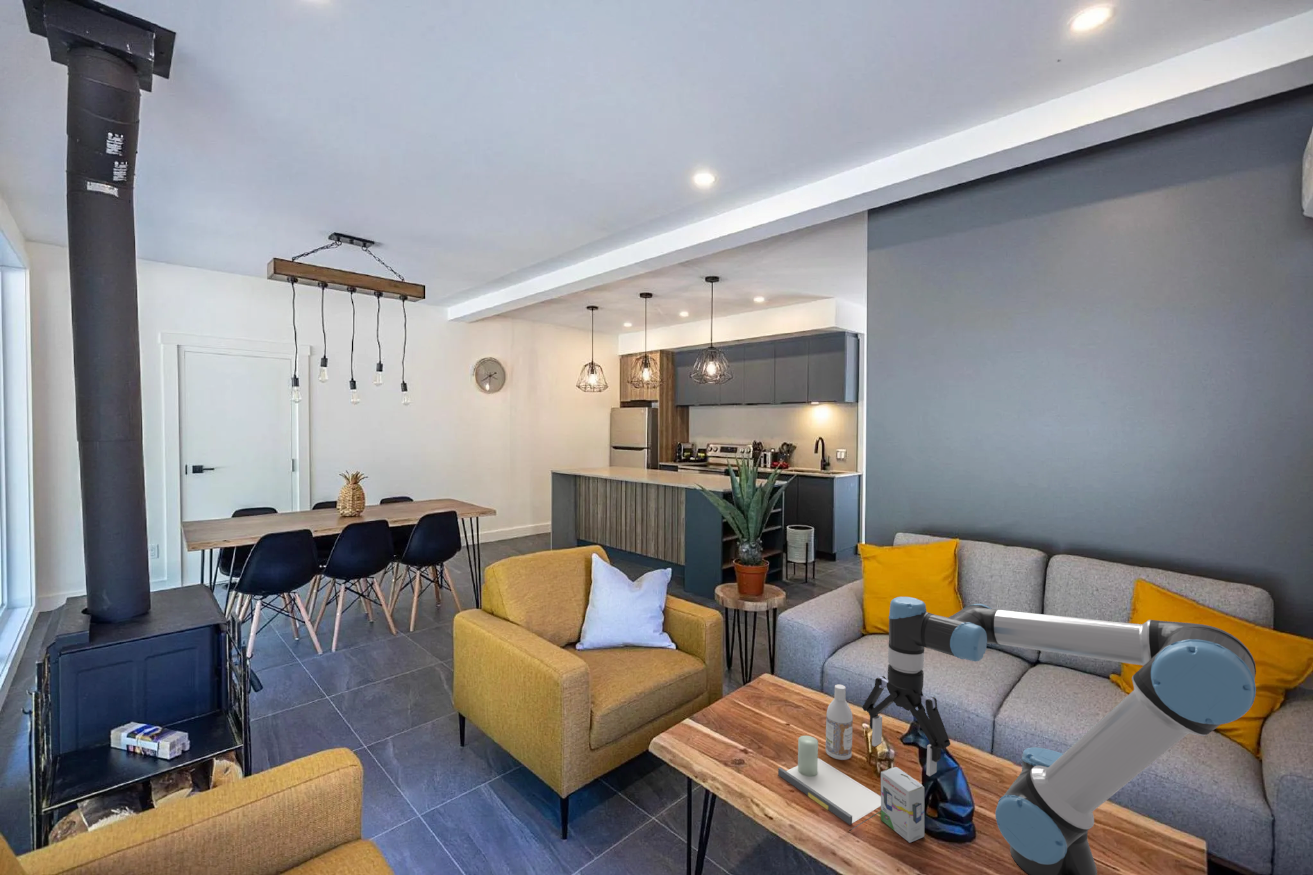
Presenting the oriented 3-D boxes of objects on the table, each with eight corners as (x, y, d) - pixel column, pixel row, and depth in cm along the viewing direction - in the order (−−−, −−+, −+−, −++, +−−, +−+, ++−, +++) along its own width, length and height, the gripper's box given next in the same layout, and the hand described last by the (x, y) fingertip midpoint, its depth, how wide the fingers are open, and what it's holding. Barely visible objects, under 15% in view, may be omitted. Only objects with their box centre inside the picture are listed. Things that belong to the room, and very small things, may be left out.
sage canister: (821, 772, 150) (822, 742, 149) (808, 778, 147) (809, 748, 147) (806, 762, 154) (807, 733, 154) (793, 768, 151) (794, 739, 151)
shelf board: (888, 807, 139) (888, 794, 139) (849, 831, 130) (849, 817, 130) (815, 761, 157) (816, 750, 157) (777, 780, 148) (777, 768, 148)
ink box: (925, 837, 129) (926, 785, 128) (908, 844, 127) (910, 791, 126) (894, 813, 136) (896, 764, 136) (878, 819, 134) (879, 770, 134)
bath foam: (840, 767, 154) (842, 694, 154) (820, 755, 160) (821, 684, 160) (856, 759, 158) (858, 688, 158) (836, 747, 164) (838, 678, 163)
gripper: (969, 683, 122) (966, 781, 123) (868, 645, 143) (865, 728, 144) (950, 692, 118) (947, 793, 119) (849, 651, 139) (846, 737, 139)
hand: (902, 758), depth 131 cm, fingers open, 13 cm apart
